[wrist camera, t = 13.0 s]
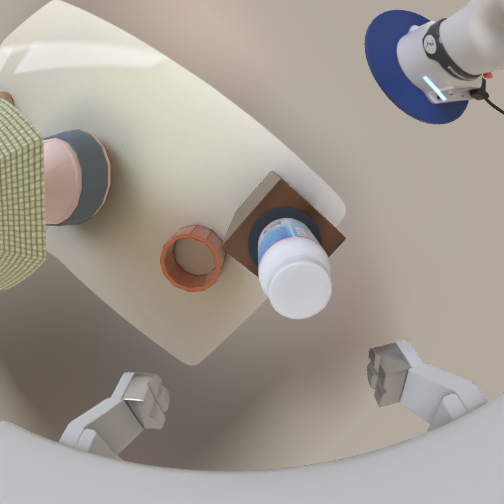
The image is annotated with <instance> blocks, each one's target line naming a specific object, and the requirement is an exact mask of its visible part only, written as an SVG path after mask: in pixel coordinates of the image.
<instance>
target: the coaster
mask: <svg viewBox="0 0 504 504" xmlns="http://www.w3.org/2000/svg"><path fill="white" fill-rule="evenodd" d="M282 218H292V219H296V220H298V221H300V222H302V223H303V224H305V225H306V226H307V227H308V228H309V230H310V231H311V232H312V234H313V235H314V237H315V238H316V239H317V241H318V242H319V244H320V245H321V235H320V231H319V229H318V227H317V225H316V223H315V222H314V221H313V219H312V218H311V217H310V216H309V215H307V214H306V213H304V212H303V211H301V210H298V209H295V208H291V207H280V208H275V209H272V210H269V211H267V212H266V213H264V214H263V215H261V216H260V217H259V218H258V219H257V220H256V222H255V223H254V224H253V226H252V228H251V230H250V233H249V238H248V249H249V254H250V257H251V259H252V261H253V262H254V264H255V265H256V266H257V267H258V241H259V237H260V235H261V233H262V231H263V230H264V228H265V227H266V226H267V225H269V224H270V223H271V222H273V221H275V220H278V219H282Z"/></svg>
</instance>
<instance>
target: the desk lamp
mask: <svg viewBox="0 0 504 504" xmlns="http://www.w3.org/2000/svg"><path fill="white" fill-rule="evenodd" d="M110 169H111V165H110V162H109V159H108V156H107V153H106V150H105V147H104V146H103V145H102V144H101V143H100V141H99V140H98V139H97V138H96V137H95V136H94V135H92V134H89V133H87V132H84V131H82V130H73V131H67V132H63V133H59V134H56V135H53V136H50V137H47V138H45V139H44V138H43V137H42V135H41V134H40V133H39V132H38V130H37V129H36V128H35V127H34V125H33V124H32V123H31V122H30V121H29V120H28V119H27V118H26V117H25V116H24V115H23V114H22V113H21V112H20V111H19V110H18V109H17V108H16V107H14V106H13V105H12V104H11V103H9V102H8V101H6V100H4V99H2V98H0V290H2V291H3V290H5V289H8V288H10V287H13V286H14V285H16V284H17V283H19V282H21V281H22V280H24V279H25V278H27V277H28V276H29V275H30V274H32V273H33V272H34V271H35V270H36V269H37V268H38V267H39V266H40V265H41V264H42V263H43V262H44V261H45V260H46V225H50V226H63V225H74V224H80V223H82V222H84V221H86V220H88V219H90V218H92V217H93V216H95V215H96V213H97V212H98V211H99V209H100V208H101V207H102V205H103V204H104V203H105V200H106V197H107V194H108V191H109V188H110Z"/></svg>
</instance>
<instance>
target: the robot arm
mask: <svg viewBox="0 0 504 504" xmlns="http://www.w3.org/2000/svg"><path fill="white" fill-rule="evenodd" d="M397 57H398V61H399V64H400V66H401V68H402V70H403V72H404V73H405V75H406V76H407V77H408V79H409V80H410V81H411V82H412V83H413V84H414V85H415V86H416V87H418V88H419V89H420V90H421V91H423V92H424V94H425V95H426V97H427V98H428V100H429V101H430V102H431V103H432V104H439V103H447V102H455V101H464V100H472V99H476V100H481V99H485V100H486V101H487V103H489V104H490V105H491V106H492V107H493V108H495V109H496V110H498V111H499V112H501V113H502V114H504V111H503V110H501V109H500V108H498V107H497V106H496V105H494V104H493V103H492V102H491V101H489V100H488V97H489V95H488V93H487V92H486V91H485V90H486V80H485V79H484V78H492V74H491V72H493V71H497V70H502V69H504V0H470V2H469V3H468V4H467V5H466V6H465V7H464V8H463V9H461V10H460V11H459V12H457V13H455V14H454V15H452V16H451V17H449V18H444V19H441V20H438V21H436V22H433V21H431V22H428V23H426V24H424V25H422V26H420V27H419V26H416V25H413V26H411V27H410V29H409V32H408V34H406V35H405V36H403V37H402V38H401V39H400V40H399V42H398V44H397ZM482 74H483V76H484V78H482ZM437 97H438V98H437ZM369 358H370V361H371V362H370V363H369V364H368V366H367V375H368V381H369V384H370V386H371V387H372V388H373V389H375V393H374V396H375V398H376V401H377V403H378V405H379V407H382V406H386V405H390V404H394V403H397V402H399V403H400V404H402V405H403V406H405V407H406V408H408V409H409V410H410V411H412V412H413V413H415V414H416V415H418V416H419V417H421V418H422V419H423V420H425V421H426V422H428V423H430V426H429V428H428V430H427V432H426V433H424V434H422V435H419V436H416V437H414V438H411V439H408V440H406V441H403V442H400V443H397V444H394V445H391V446H388V447H385V448H382V449H378V450H375V451H371V452H367V453H364V454H360V455H356V456H352V457H348V458H343V459H339V460H334V461H329V462H323V463H318V464H311V465H305V466H298V467H290V468H281V469H269V470H253V471H201V470H185V469H174V468H165V467H157V466H150V465H143V464H137V463H132V462H127V461H123V460H122V459H121V458H120V457H119V456H118V454H119V453H120V452H121V451H122V450H123V449H124V448H125V447H126V446H127V445H128V444H129V443H130V442H131V441H132V440H133V439H134V438H135V437H136V436H137V435H138V434H139V433H140V432H141V431H142V430H143V429H144V428H150V429H162V428H163V425H164V421H165V418H166V417H165V415H164V412H165V411H167V410H168V409H169V405H170V395H169V392H168V390H167V388H166V387H165V386H163V385H162V381H163V380H162V378H161V376H160V374H157V373H131V372H126V373H124V374H123V376H122V378H121V379H120V382H119V383H118V385H117V387H116V389H115V391H114V393H113V395H112V396H111V398H107V399H105V400H104V401H102V402H101V403H100V404H98V405H97V406H95V407H93V408H92V409H90V410H89V411H87V412H86V413H84V414H83V415H81V416H79V417H78V418H77V419H75V420H73V421H72V422H70V423H69V425H68V426H67V428H66V430H65V432H64V434H63V435H62V437H61V439H60V441H59V442H55V441H52V440H49V439H47V438H44V437H42V436H39V435H37V434H34V433H32V432H29V431H27V430H25V429H23V428H21V427H19V426H16V425H14V424H12V423H11V422H8V421H2V422H0V504H504V392H503V393H502V394H500V395H499V396H497V397H496V398H494V399H492V400H491V401H489V402H487V400H486V399H485V397H484V396H483V395H482V393H481V392H480V390H479V389H478V388H477V386H476V385H475V383H474V382H472V381H470V380H467V379H465V378H462V377H460V376H457V375H455V374H452V373H450V372H448V371H445V370H443V369H441V368H438V367H436V366H433V365H430V364H429V363H425V364H424V363H423V362H422V360H421V359H420V357H419V356H418V354H417V353H416V351H415V350H414V349H413V347H412V346H411V344H410V343H409V342H408V340H406V339H404V340H400V341H397V342H394V343H390V344H386V345H383V346H379V347H375V348H371V349H370V351H369Z"/></svg>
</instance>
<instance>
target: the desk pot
mask: <svg viewBox="0 0 504 504" xmlns="http://www.w3.org/2000/svg"><path fill="white" fill-rule="evenodd" d="M190 237H191V238H194V239H197V240H199V241H202V242H204V243H205V244H206V245H207V246H208V247H209V248H210V249H211V251H212V252H213V253H214V256H215V260H216V265H217V267H216V268H215V269H214V270H212V271H211V272H210V273H208V274H205V275H197V276H195V275H192V274H190V273H187V272H184V271H183V270H182V269H181V267H180V266H179V265H178V264H177V263H176V261H175V257H174V253H173V248H174V244H175V241H176V240H177V239H184V238H190ZM222 244H223V243H222V241H221V240H220V238H219V237H218V236H217V235H216V234H215V233H214V231H212V230H211V229H208V228H205V227H203V226H200V225H193V226H187V227H183V228H182V229H181V230H179V231H178V232H177V233H176V234H175V235H174V236H173V237H172V238H171V239H170V240H169V241H168V242H167V243H166V244H165V245H164V246H163V250H162V253H161V257H160V263H161V267H162V270H163V274H165V275H164V276H165V277H166V278H167V279H168V280H169V281H170V282H171V283H172V284H173V285H174V286H175V287H177V288H180V289H182V290H185V291H188V292H189V291H190V292H195V291H204V290H206V289H207V288H208V287H210V286H211V285H212V284H214V283H215V282H216V281H217V279H218V276H219V273H220V271H221V268H222V265H223V262H224V259H225V252H224V250H223V249H222V248H221V246H222Z"/></svg>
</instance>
